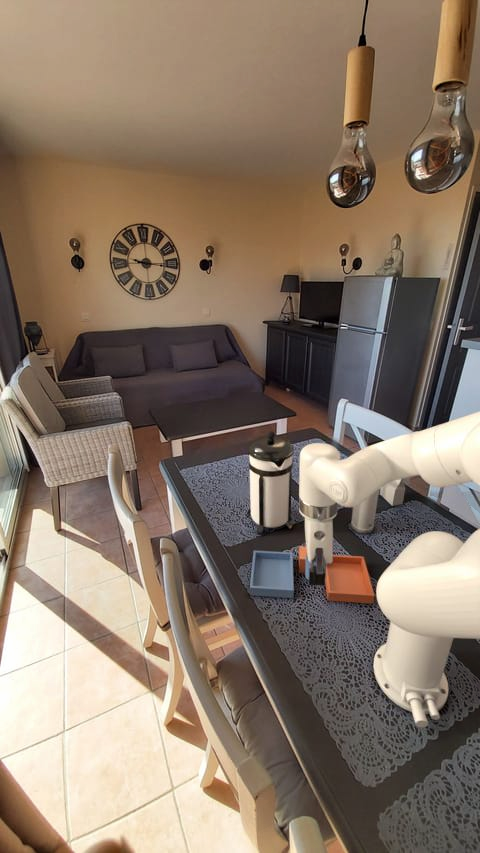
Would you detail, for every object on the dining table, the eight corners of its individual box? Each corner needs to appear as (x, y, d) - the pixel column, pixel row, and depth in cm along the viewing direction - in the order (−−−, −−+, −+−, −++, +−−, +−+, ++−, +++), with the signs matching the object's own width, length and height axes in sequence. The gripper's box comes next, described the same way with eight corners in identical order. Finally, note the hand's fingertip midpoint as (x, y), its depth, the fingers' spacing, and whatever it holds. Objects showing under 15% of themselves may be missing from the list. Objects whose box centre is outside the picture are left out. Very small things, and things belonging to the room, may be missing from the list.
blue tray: (293, 598, 84) (293, 590, 83) (249, 595, 85) (249, 587, 84) (292, 559, 95) (292, 552, 94) (253, 557, 96) (253, 550, 95)
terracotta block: (317, 574, 90) (318, 560, 89) (299, 573, 91) (299, 559, 89) (316, 560, 95) (317, 547, 93) (298, 559, 95) (299, 546, 93)
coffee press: (304, 514, 113) (309, 426, 101) (280, 543, 101) (282, 448, 89) (257, 497, 122) (256, 414, 110) (230, 522, 110) (225, 433, 98)
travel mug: (375, 535, 103) (384, 474, 95) (351, 532, 104) (358, 472, 96) (373, 521, 108) (381, 463, 101) (350, 519, 110) (356, 461, 102)
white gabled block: (392, 505, 115) (396, 479, 111) (380, 494, 121) (383, 468, 117) (402, 504, 116) (407, 477, 112) (389, 492, 122) (393, 466, 118)
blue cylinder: (326, 583, 76) (327, 566, 75) (305, 582, 77) (306, 565, 75) (324, 568, 80) (325, 551, 79) (304, 567, 81) (305, 550, 79)
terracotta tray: (373, 603, 82) (374, 595, 81) (327, 600, 83) (328, 592, 82) (362, 563, 93) (363, 556, 92) (322, 561, 94) (323, 554, 93)
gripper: (344, 532, 64) (338, 608, 70) (332, 482, 79) (328, 548, 86) (301, 530, 64) (299, 606, 71) (297, 481, 80) (296, 547, 87)
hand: (315, 574), depth 79 cm, fingers closed on blue cylinder, 4 cm apart
